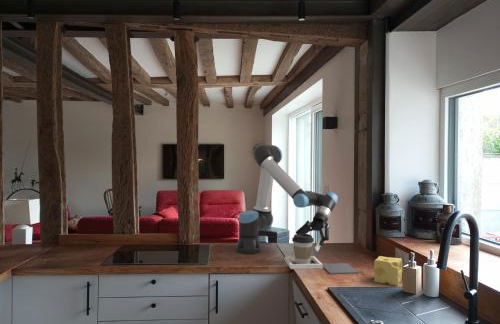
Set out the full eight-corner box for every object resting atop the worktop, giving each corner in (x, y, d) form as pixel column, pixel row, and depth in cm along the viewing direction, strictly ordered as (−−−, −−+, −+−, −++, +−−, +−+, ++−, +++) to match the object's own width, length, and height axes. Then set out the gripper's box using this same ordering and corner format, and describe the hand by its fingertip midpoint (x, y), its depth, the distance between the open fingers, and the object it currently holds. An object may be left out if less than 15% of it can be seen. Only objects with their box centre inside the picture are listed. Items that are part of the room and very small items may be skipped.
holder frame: (284, 260, 202) (284, 256, 202) (314, 259, 204) (314, 256, 204) (290, 268, 186) (290, 264, 186) (322, 268, 188) (322, 264, 188)
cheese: (398, 286, 161) (398, 263, 161) (372, 282, 166) (372, 259, 166) (402, 280, 169) (402, 258, 169) (378, 276, 175) (378, 254, 175)
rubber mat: (320, 264, 194) (320, 263, 194) (346, 264, 195) (346, 263, 195) (330, 274, 178) (330, 272, 178) (358, 273, 179) (358, 272, 179)
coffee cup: (318, 263, 195) (318, 235, 195) (305, 268, 187) (305, 239, 187) (300, 259, 203) (300, 232, 203) (287, 264, 195) (287, 235, 194)
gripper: (344, 223, 198) (328, 256, 188) (306, 218, 216) (290, 248, 206) (338, 214, 195) (322, 247, 184) (300, 209, 213) (283, 240, 202)
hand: (305, 247), depth 195 cm, fingers open, 13 cm apart
